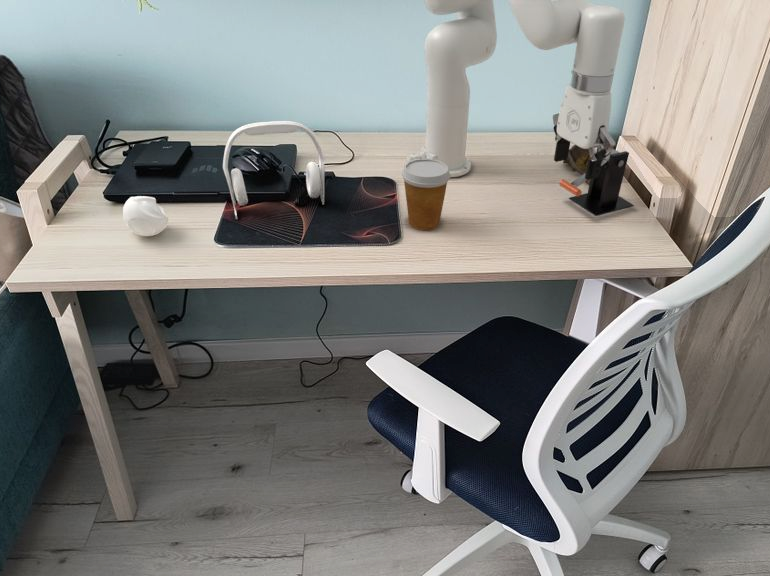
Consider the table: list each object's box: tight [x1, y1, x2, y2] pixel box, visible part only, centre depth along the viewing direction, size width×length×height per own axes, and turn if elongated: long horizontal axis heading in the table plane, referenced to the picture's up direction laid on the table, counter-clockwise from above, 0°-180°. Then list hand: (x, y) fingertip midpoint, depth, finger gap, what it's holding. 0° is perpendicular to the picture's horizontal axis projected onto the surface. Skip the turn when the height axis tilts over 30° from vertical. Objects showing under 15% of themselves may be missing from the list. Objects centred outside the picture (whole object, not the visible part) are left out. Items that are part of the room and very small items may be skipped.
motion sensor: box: [122, 195, 169, 237], centre depth 121 cm, size 8×8×8 cm
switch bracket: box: [568, 145, 635, 217], centre depth 137 cm, size 11×9×13 cm
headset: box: [222, 120, 325, 220], centre depth 128 cm, size 20×7×18 cm, turn 109°
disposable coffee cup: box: [401, 159, 451, 231], centre depth 128 cm, size 10×10×12 cm
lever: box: [558, 148, 620, 196], centre depth 133 cm, size 13×6×2 cm, turn 120°
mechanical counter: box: [562, 144, 591, 186], centre depth 150 cm, size 7×13×10 cm
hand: (575, 169), depth 130 cm, fingers open, 9 cm apart
